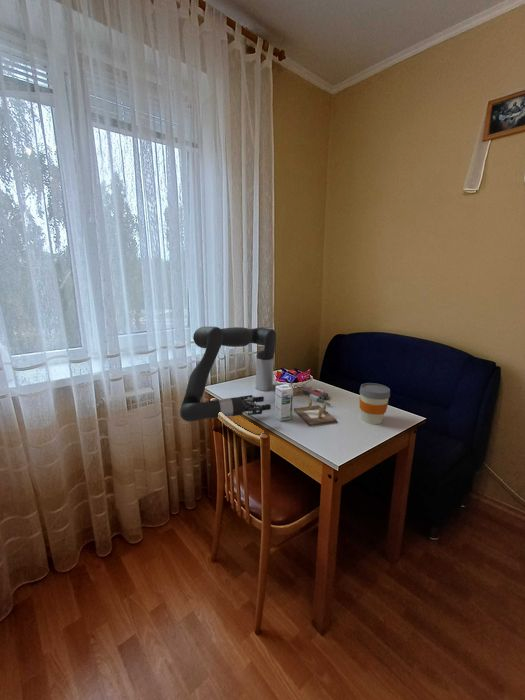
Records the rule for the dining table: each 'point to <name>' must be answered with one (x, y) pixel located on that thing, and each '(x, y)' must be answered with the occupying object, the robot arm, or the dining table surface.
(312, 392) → the walkie-talkie
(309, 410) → the pin board
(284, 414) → the syrup box
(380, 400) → the reusable coffee cup
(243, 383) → the dining table surface
